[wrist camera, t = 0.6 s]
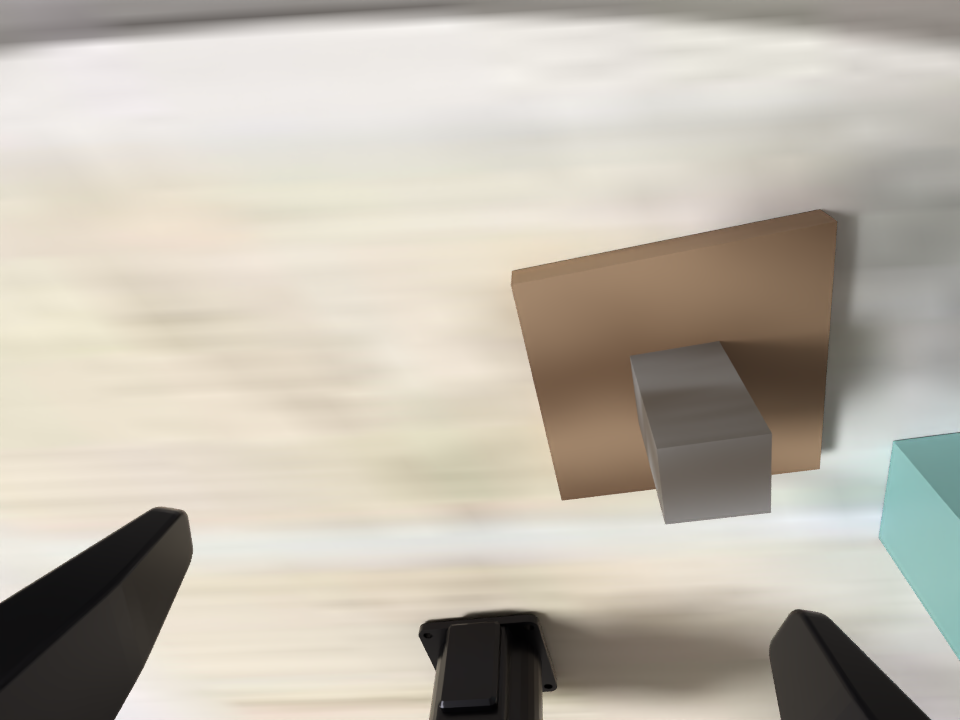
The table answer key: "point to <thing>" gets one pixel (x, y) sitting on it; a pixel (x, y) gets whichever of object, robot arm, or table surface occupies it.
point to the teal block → (927, 525)
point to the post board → (673, 310)
